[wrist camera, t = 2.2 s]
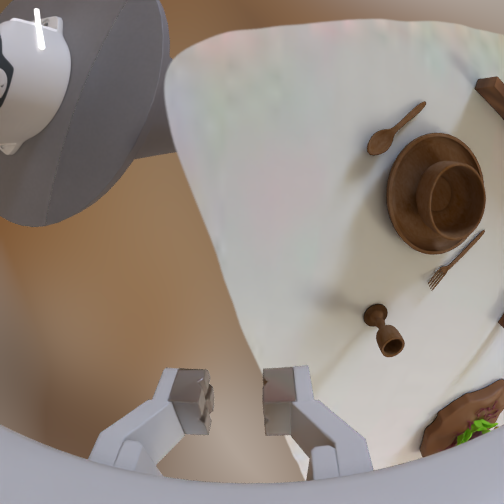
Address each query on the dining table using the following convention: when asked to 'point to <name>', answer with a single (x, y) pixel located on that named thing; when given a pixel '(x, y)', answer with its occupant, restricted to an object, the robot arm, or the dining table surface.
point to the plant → (464, 419)
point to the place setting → (428, 204)
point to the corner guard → (500, 99)
